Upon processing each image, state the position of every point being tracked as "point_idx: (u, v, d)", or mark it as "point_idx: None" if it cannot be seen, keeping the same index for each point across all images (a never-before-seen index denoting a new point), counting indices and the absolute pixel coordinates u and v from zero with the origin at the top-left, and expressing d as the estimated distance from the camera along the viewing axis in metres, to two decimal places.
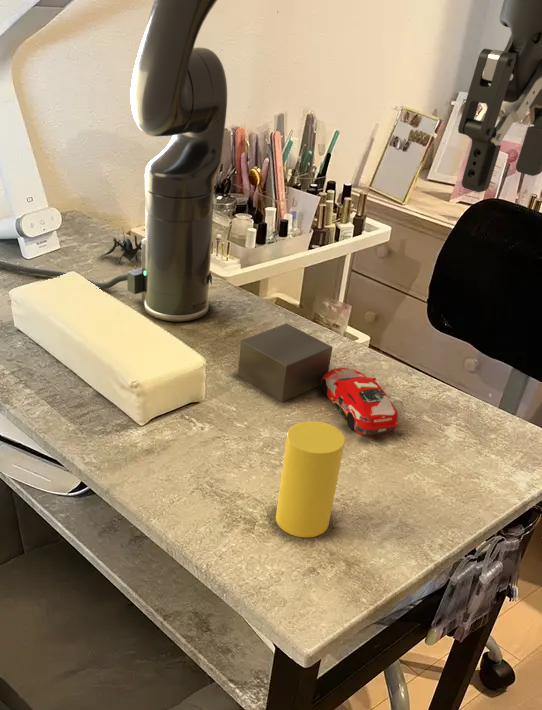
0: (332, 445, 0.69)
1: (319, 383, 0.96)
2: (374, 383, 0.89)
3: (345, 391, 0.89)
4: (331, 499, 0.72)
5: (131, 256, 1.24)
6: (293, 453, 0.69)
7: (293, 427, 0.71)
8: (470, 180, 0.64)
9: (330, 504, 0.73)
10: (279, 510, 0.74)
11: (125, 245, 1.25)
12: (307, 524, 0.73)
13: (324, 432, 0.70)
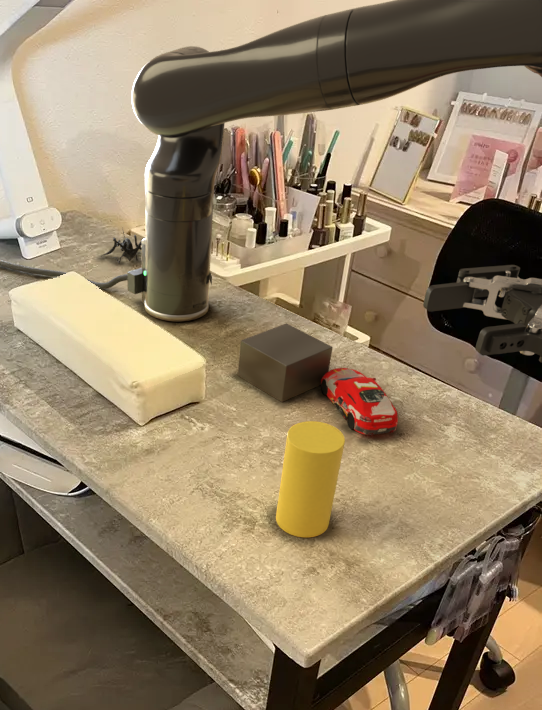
0: (332, 445, 0.69)
1: (319, 383, 0.96)
2: (374, 383, 0.89)
3: (345, 391, 0.89)
4: (331, 499, 0.72)
5: (131, 256, 1.24)
6: (293, 453, 0.69)
7: (293, 427, 0.71)
8: (496, 346, 0.62)
9: (330, 504, 0.73)
10: (279, 510, 0.74)
11: (125, 245, 1.25)
12: (307, 524, 0.73)
13: (324, 432, 0.70)
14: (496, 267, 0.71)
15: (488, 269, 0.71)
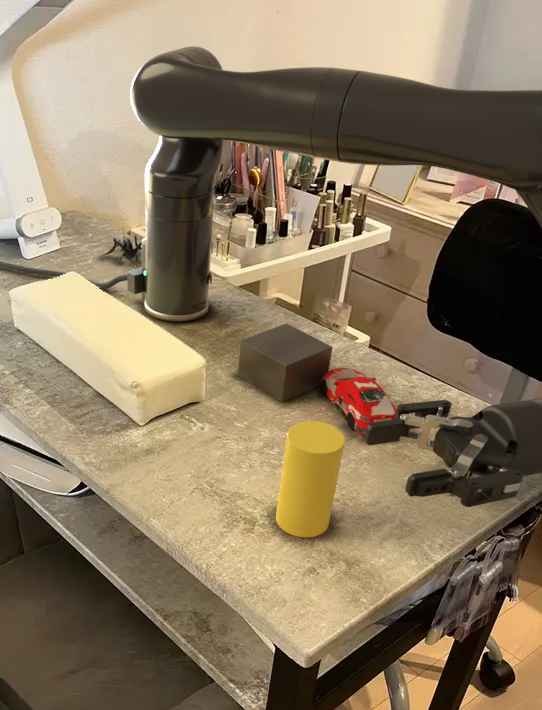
0: (332, 445, 0.69)
1: (319, 383, 0.96)
2: (374, 383, 0.89)
3: (345, 391, 0.89)
4: (331, 499, 0.72)
5: (131, 256, 1.24)
6: (293, 453, 0.69)
7: (293, 427, 0.71)
8: (422, 491, 0.70)
9: (330, 504, 0.73)
10: (279, 510, 0.74)
11: (125, 245, 1.25)
12: (307, 524, 0.73)
13: (324, 432, 0.70)
14: (430, 403, 0.80)
15: (423, 404, 0.80)
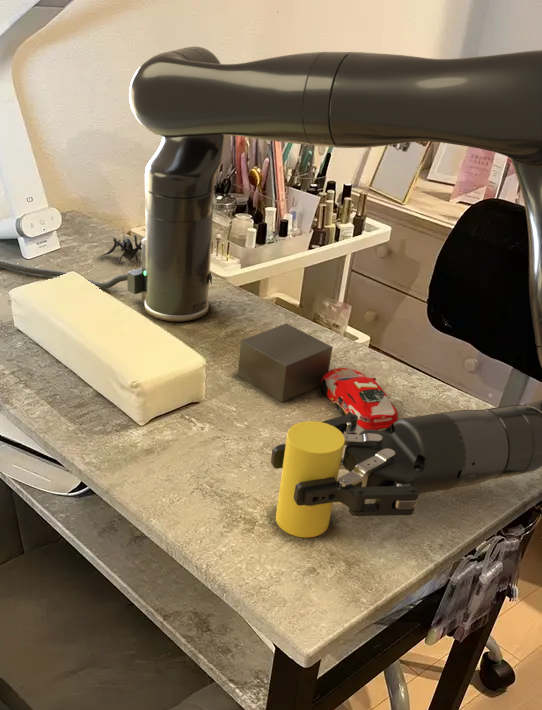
0: (331, 445, 0.69)
1: (319, 383, 0.96)
2: (374, 383, 0.89)
3: (345, 391, 0.89)
4: None
5: (131, 256, 1.24)
6: (293, 453, 0.69)
7: (293, 427, 0.71)
8: (309, 499, 0.69)
9: (330, 504, 0.73)
10: (279, 510, 0.74)
11: (125, 245, 1.25)
12: (307, 524, 0.73)
13: (324, 432, 0.70)
14: (338, 419, 0.77)
15: (331, 422, 0.77)
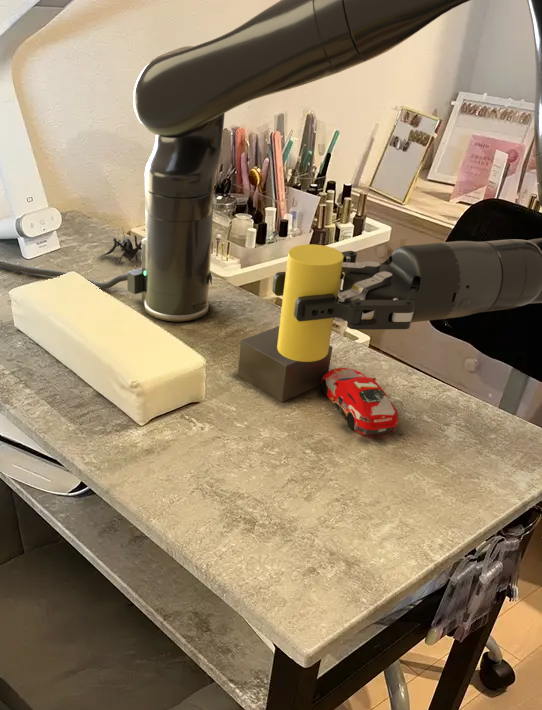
0: (331, 260, 0.71)
1: (319, 383, 0.96)
2: (374, 383, 0.89)
3: (345, 391, 0.89)
4: (330, 321, 0.75)
5: (131, 256, 1.24)
6: (294, 269, 0.72)
7: (294, 248, 0.74)
8: (308, 313, 0.72)
9: (329, 326, 0.75)
10: (280, 336, 0.77)
11: (125, 245, 1.25)
12: (307, 347, 0.76)
13: (324, 251, 0.73)
14: None
15: None
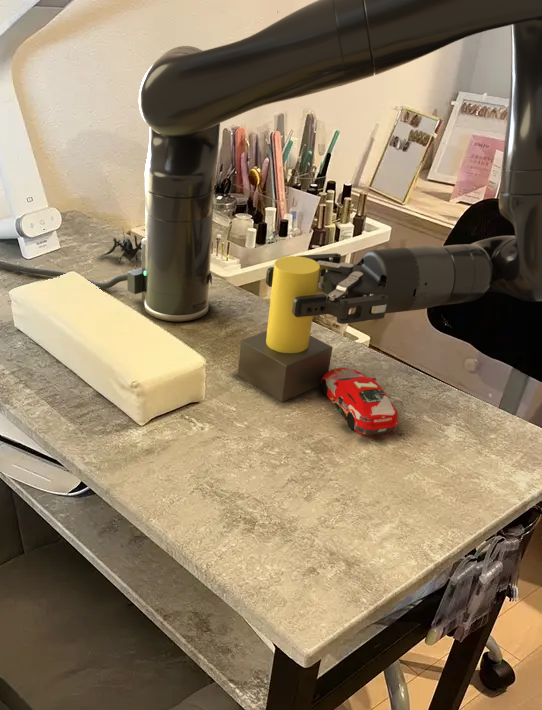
0: (309, 269, 0.87)
1: (319, 383, 0.96)
2: (374, 383, 0.89)
3: (345, 391, 0.89)
4: (309, 319, 0.91)
5: (131, 256, 1.24)
6: (279, 276, 0.87)
7: (279, 259, 0.89)
8: (304, 310, 0.86)
9: (309, 324, 0.91)
10: (268, 332, 0.93)
11: (125, 245, 1.25)
12: (290, 341, 0.91)
13: (304, 262, 0.89)
14: (323, 255, 0.96)
15: (316, 256, 0.95)
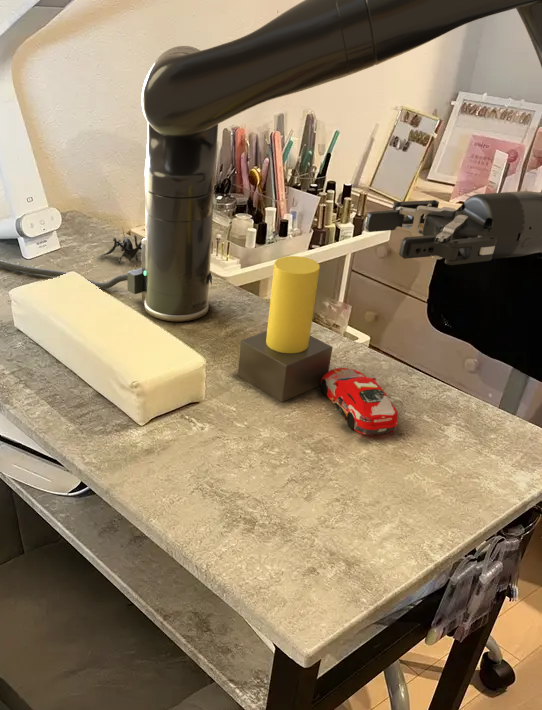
0: (309, 269, 0.87)
1: (319, 383, 0.96)
2: (374, 383, 0.89)
3: (345, 391, 0.89)
4: (309, 319, 0.91)
5: (131, 256, 1.24)
6: (279, 276, 0.87)
7: (279, 259, 0.89)
8: (413, 251, 0.85)
9: (309, 324, 0.91)
10: (268, 332, 0.93)
11: (125, 245, 1.25)
12: (290, 341, 0.91)
13: (304, 262, 0.89)
14: (421, 201, 0.95)
15: (415, 202, 0.95)
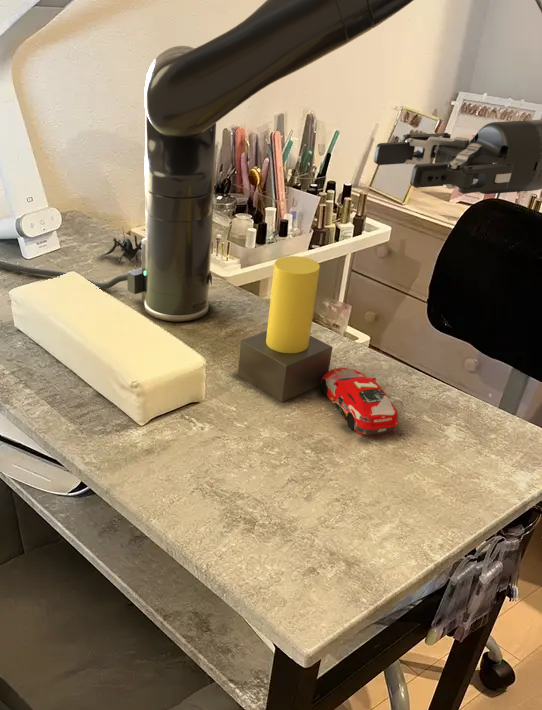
0: (309, 269, 0.87)
1: (319, 383, 0.96)
2: (374, 383, 0.89)
3: (345, 391, 0.89)
4: (309, 319, 0.91)
5: (131, 256, 1.24)
6: (279, 276, 0.87)
7: (279, 259, 0.89)
8: (425, 178, 0.81)
9: (309, 324, 0.91)
10: (268, 332, 0.93)
11: (125, 245, 1.25)
12: (290, 341, 0.91)
13: (304, 262, 0.89)
14: (432, 134, 0.91)
15: (425, 135, 0.90)
